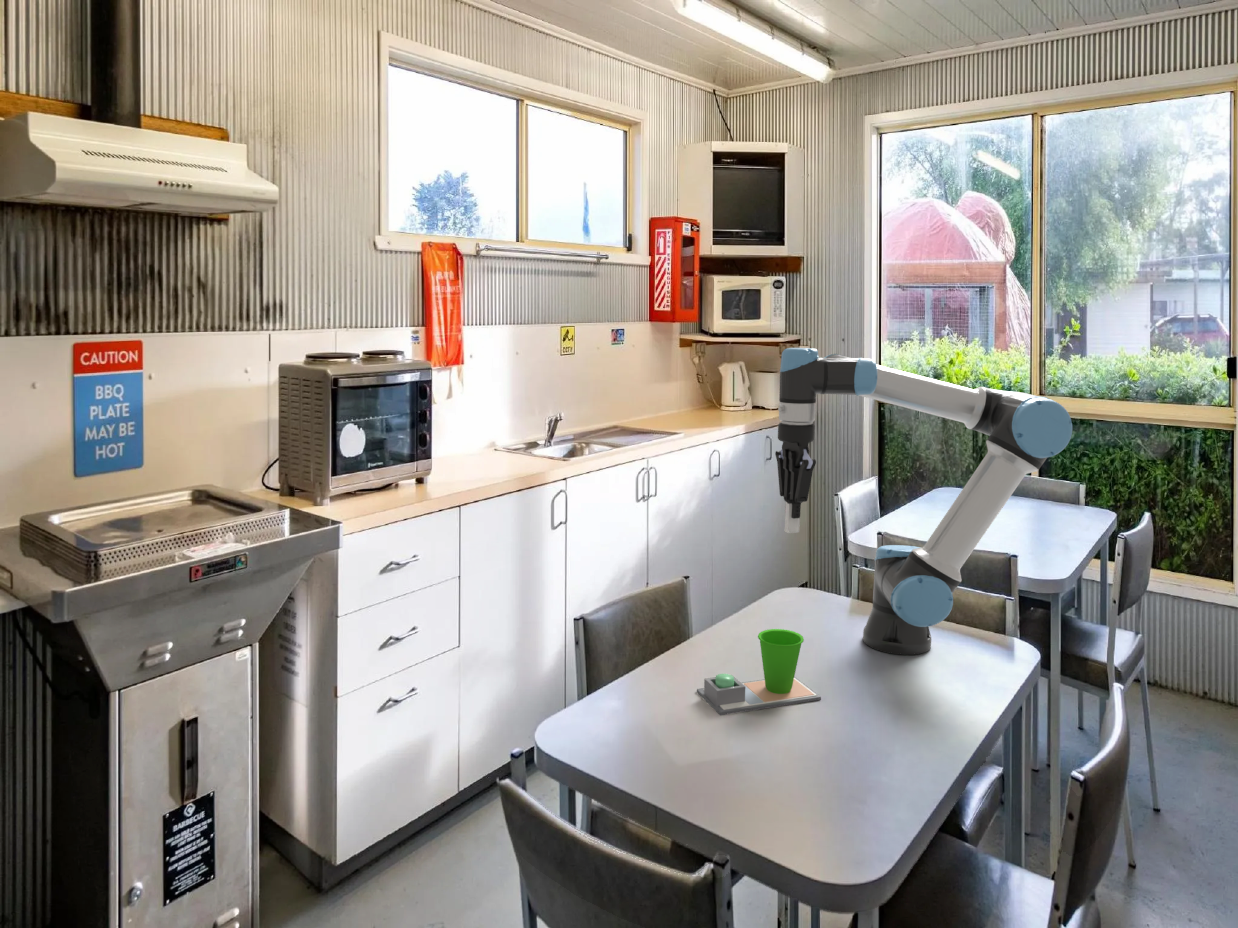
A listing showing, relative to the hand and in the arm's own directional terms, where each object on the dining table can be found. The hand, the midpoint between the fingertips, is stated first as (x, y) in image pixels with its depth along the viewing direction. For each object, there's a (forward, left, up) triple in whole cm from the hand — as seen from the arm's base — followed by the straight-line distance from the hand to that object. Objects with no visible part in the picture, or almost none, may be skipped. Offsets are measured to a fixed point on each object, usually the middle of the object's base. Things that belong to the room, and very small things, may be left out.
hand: (791, 531), depth 190 cm
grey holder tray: (+14, +14, -29) cm, 35 cm away
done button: (+22, +14, -28) cm, 37 cm away
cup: (+10, +14, -29) cm, 33 cm away
